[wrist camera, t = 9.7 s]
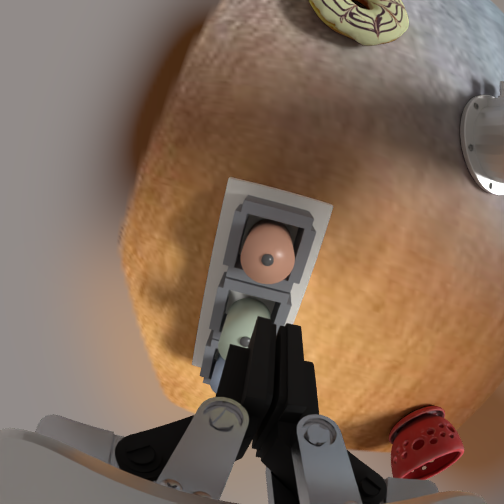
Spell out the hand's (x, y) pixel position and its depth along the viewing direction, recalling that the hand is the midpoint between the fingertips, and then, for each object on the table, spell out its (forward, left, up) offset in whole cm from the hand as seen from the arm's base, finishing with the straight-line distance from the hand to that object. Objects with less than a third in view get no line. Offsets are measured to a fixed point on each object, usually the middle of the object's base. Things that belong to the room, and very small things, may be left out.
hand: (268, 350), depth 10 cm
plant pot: (+27, +36, -18) cm, 48 cm away
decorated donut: (-27, +3, -19) cm, 33 cm away
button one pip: (0, 0, -16) cm, 16 cm away
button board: (+7, 0, -18) cm, 20 cm away
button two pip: (+7, 0, -13) cm, 15 cm away
